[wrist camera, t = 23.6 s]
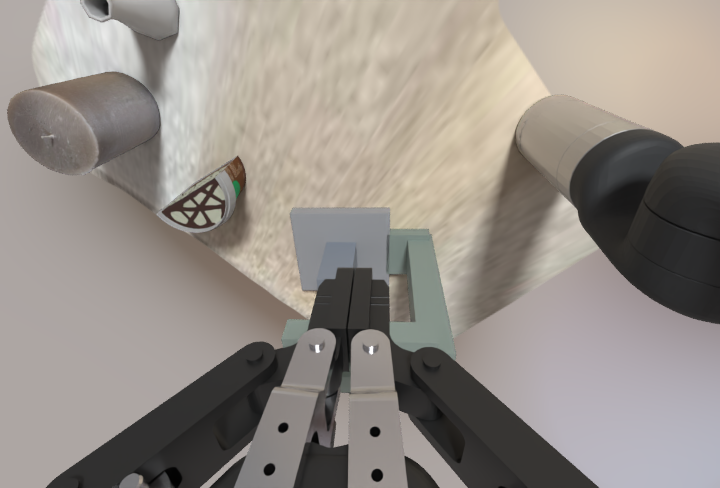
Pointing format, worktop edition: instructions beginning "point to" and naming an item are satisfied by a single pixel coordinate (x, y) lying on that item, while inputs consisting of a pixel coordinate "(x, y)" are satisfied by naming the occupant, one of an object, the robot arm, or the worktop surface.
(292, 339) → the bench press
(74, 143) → the pillar candle
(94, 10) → the flask
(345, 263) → the block
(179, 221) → the food container
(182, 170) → the worktop surface
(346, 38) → the worktop surface
